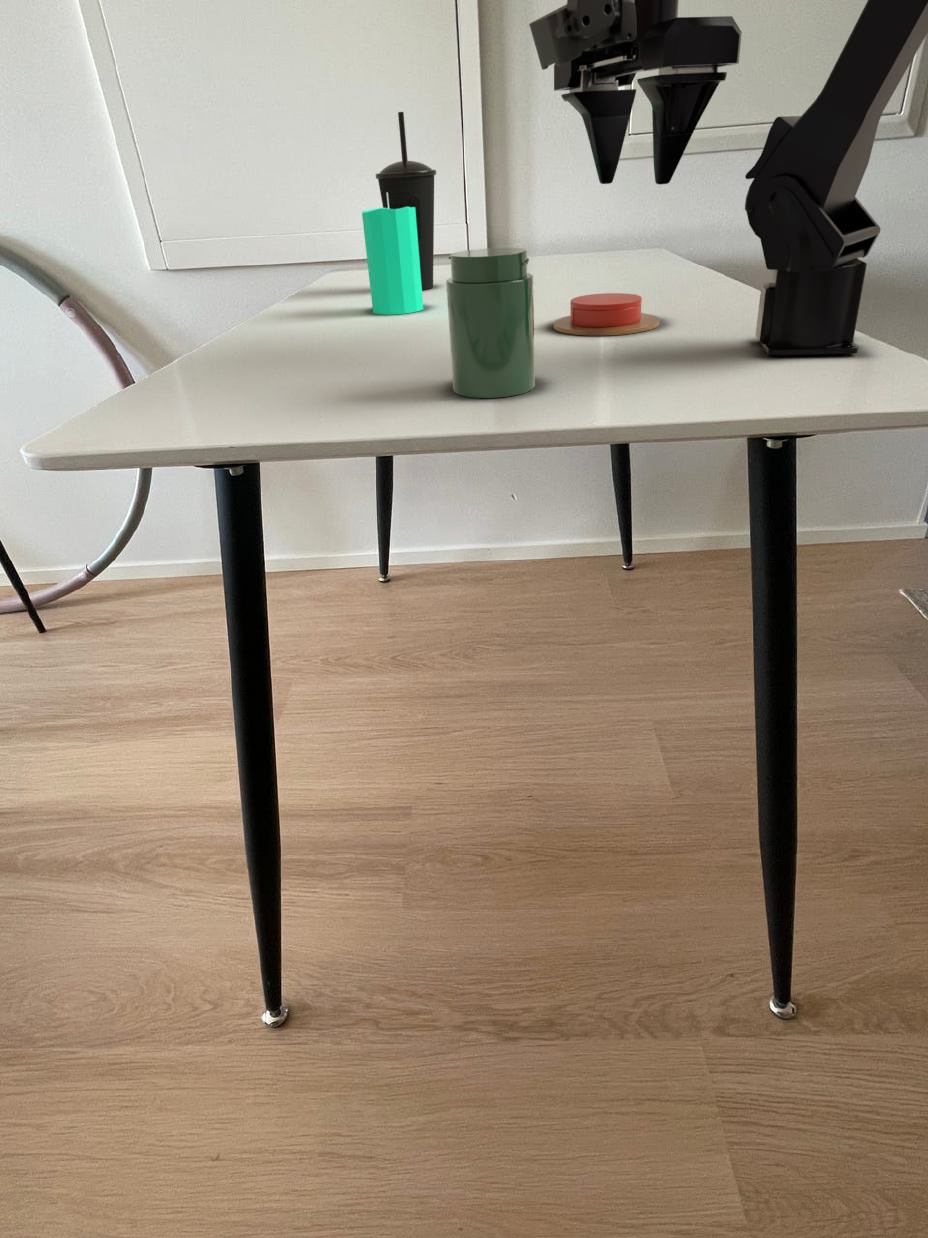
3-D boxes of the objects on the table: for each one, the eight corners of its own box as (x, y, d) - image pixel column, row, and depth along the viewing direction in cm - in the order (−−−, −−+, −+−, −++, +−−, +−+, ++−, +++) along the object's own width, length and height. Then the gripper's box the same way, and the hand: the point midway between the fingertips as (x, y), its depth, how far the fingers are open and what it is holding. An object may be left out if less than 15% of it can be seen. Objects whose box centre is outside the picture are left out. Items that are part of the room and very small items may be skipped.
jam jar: (538, 376, 60) (537, 245, 56) (530, 397, 55) (527, 254, 51) (461, 378, 61) (453, 249, 57) (446, 398, 56) (436, 259, 52)
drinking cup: (454, 284, 107) (444, 109, 97) (422, 293, 102) (407, 108, 92) (409, 283, 111) (394, 114, 101) (375, 291, 106) (356, 114, 96)
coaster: (657, 314, 80) (657, 309, 79) (660, 334, 71) (661, 329, 71) (557, 317, 81) (557, 313, 81) (549, 337, 73) (549, 332, 73)
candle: (416, 313, 89) (406, 191, 83) (365, 315, 90) (351, 195, 84) (429, 304, 94) (420, 189, 88) (381, 306, 95) (368, 192, 89)
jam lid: (588, 330, 73) (588, 307, 72) (558, 319, 78) (558, 298, 77) (653, 321, 74) (655, 299, 73) (620, 312, 80) (621, 290, 79)
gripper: (494, -29, 64) (501, 189, 72) (606, -95, 49) (599, 192, 57) (617, -29, 67) (610, 181, 75) (758, -91, 52) (732, 181, 60)
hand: (632, 183), depth 67 cm, fingers open, 9 cm apart
